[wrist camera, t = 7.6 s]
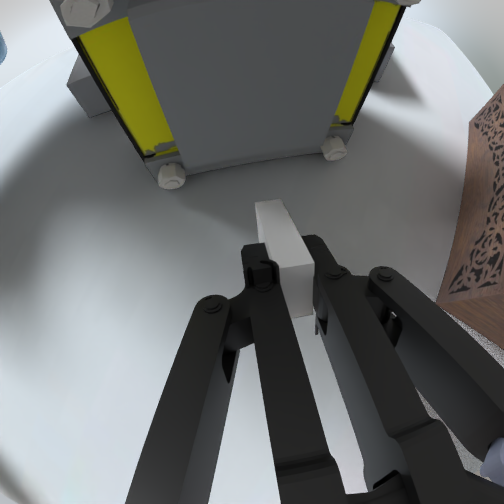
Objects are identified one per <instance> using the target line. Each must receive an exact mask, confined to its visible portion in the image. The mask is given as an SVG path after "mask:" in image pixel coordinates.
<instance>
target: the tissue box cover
mask: <svg viewBox="0 0 504 504" xmlns="http://www.w3.org/2000/svg"><path fill="white" fill-rule="evenodd" d="M435 304H436V305H438V306H439V307H441V308H442V309H444V310H445V311H447V312H448V313H450V314H452V315H453V316H455V317H456V318H458V319H459V320H461V321H462V322H464V323H465V324H467V325H468V326H470V327H471V328H473V329H474V330H476V331H477V332H479V333H480V334H482V335H483V336H485V337H486V338H488V339H489V340H490V341H492V342H493V343H495V344H496V345H498V346H499V347H500V348H502V349H503V350H504V84H503V85H502V86H501V88H500V89H499V90H498V91H497V92H496V93H495V94H494V96H493V97H492V98H491V99H490V100H489V101H488V102H487V103H486V104H485V106H484V107H483V108H482V109H481V110H480V111H479V112H478V113H477V114H476V115H475V116H474V117H473V119H472V120H471V121H470V122H469V136H468V152H467V163H466V172H465V180H464V188H463V194H462V201H461V207H460V212H459V217H458V222H457V227H456V232H455V236H454V241H453V245H452V249H451V253H450V257H449V261H448V264H447V268H446V271H445V275H444V278H443V281H442V285H441V288H440V291H439V294H438V297H437V300H436V303H435Z"/></svg>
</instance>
